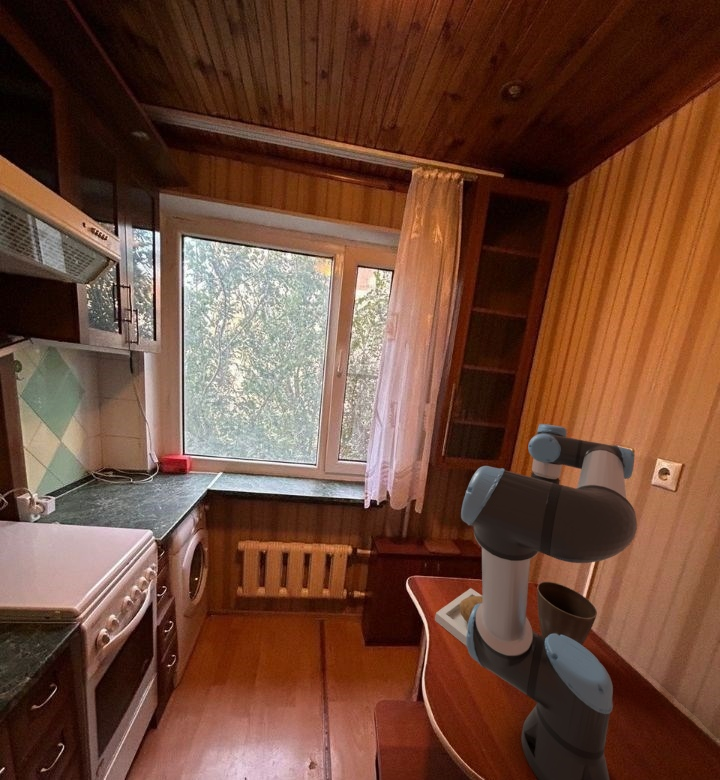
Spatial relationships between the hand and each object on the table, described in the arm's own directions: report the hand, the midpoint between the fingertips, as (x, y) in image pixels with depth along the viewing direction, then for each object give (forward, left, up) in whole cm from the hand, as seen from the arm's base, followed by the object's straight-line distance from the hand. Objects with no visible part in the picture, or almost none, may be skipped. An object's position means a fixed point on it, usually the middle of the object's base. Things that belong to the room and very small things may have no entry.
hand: (535, 542), depth 94 cm
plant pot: (+5, -8, -31) cm, 32 cm away
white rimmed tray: (-8, +11, -31) cm, 33 cm away
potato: (-8, +10, -30) cm, 33 cm away
